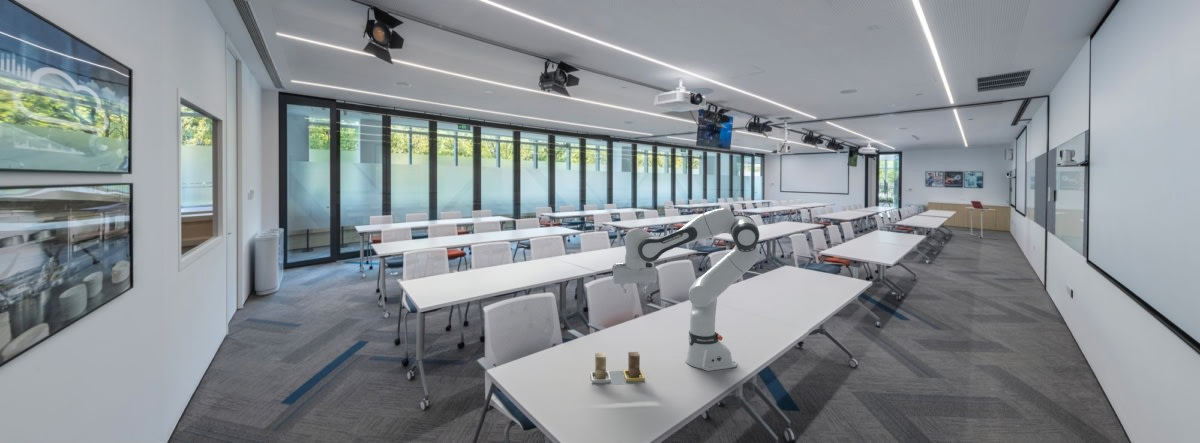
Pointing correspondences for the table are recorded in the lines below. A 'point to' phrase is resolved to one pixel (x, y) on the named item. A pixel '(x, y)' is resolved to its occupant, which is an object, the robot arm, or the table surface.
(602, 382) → the base plate
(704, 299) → the robot arm
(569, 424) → the table surface
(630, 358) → the walnut pillar
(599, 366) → the oak pillar
